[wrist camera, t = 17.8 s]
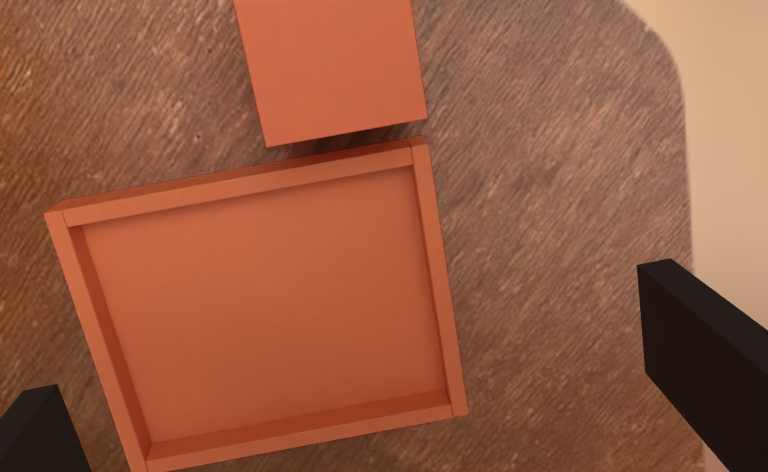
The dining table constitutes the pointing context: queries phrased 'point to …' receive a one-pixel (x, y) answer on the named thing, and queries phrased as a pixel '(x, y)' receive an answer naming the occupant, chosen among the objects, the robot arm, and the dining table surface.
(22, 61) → the dining table surface
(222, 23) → the dining table surface
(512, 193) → the dining table surface
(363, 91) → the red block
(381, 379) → the clay tray
